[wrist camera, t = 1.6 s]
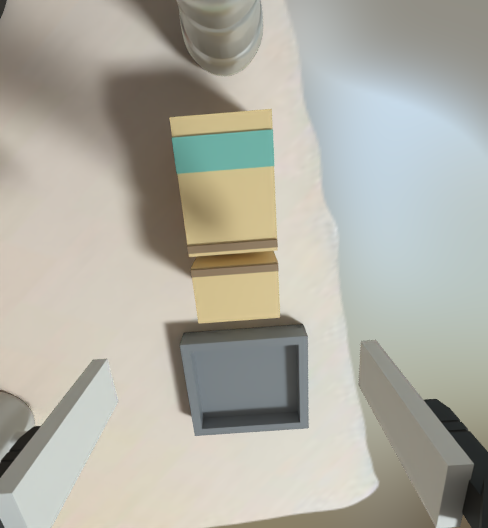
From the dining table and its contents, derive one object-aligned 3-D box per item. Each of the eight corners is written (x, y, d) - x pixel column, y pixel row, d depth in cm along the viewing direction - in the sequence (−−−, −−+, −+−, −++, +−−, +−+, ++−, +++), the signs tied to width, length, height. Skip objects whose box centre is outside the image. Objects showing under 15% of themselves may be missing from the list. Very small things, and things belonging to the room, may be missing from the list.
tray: (183, 333, 34) (179, 345, 32) (303, 324, 34) (307, 335, 32) (197, 419, 38) (194, 435, 36) (304, 412, 38) (308, 428, 36)
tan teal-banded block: (188, 131, 28) (168, 116, 20) (263, 125, 27) (271, 108, 20) (202, 241, 31) (189, 266, 23) (268, 236, 31) (278, 260, 23)
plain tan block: (203, 243, 31) (190, 269, 23) (268, 238, 31) (278, 262, 23) (208, 287, 33) (198, 324, 25) (270, 282, 33) (280, 318, 25)
